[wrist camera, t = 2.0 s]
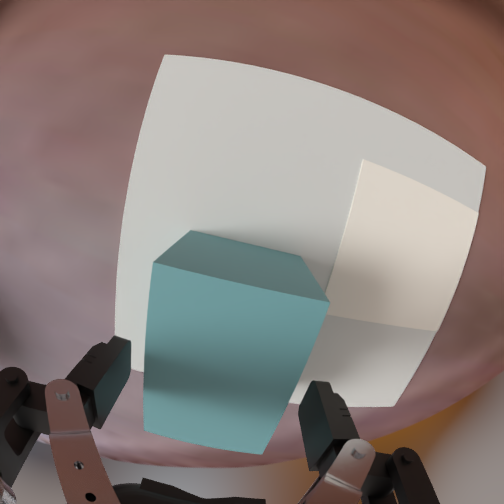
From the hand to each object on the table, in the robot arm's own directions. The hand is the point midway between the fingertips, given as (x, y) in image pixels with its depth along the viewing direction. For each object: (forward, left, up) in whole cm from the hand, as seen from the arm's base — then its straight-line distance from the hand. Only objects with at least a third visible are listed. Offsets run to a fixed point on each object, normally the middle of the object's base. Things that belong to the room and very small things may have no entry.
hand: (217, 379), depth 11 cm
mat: (-4, +4, -6) cm, 8 cm away
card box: (0, 0, -5) cm, 5 cm away
